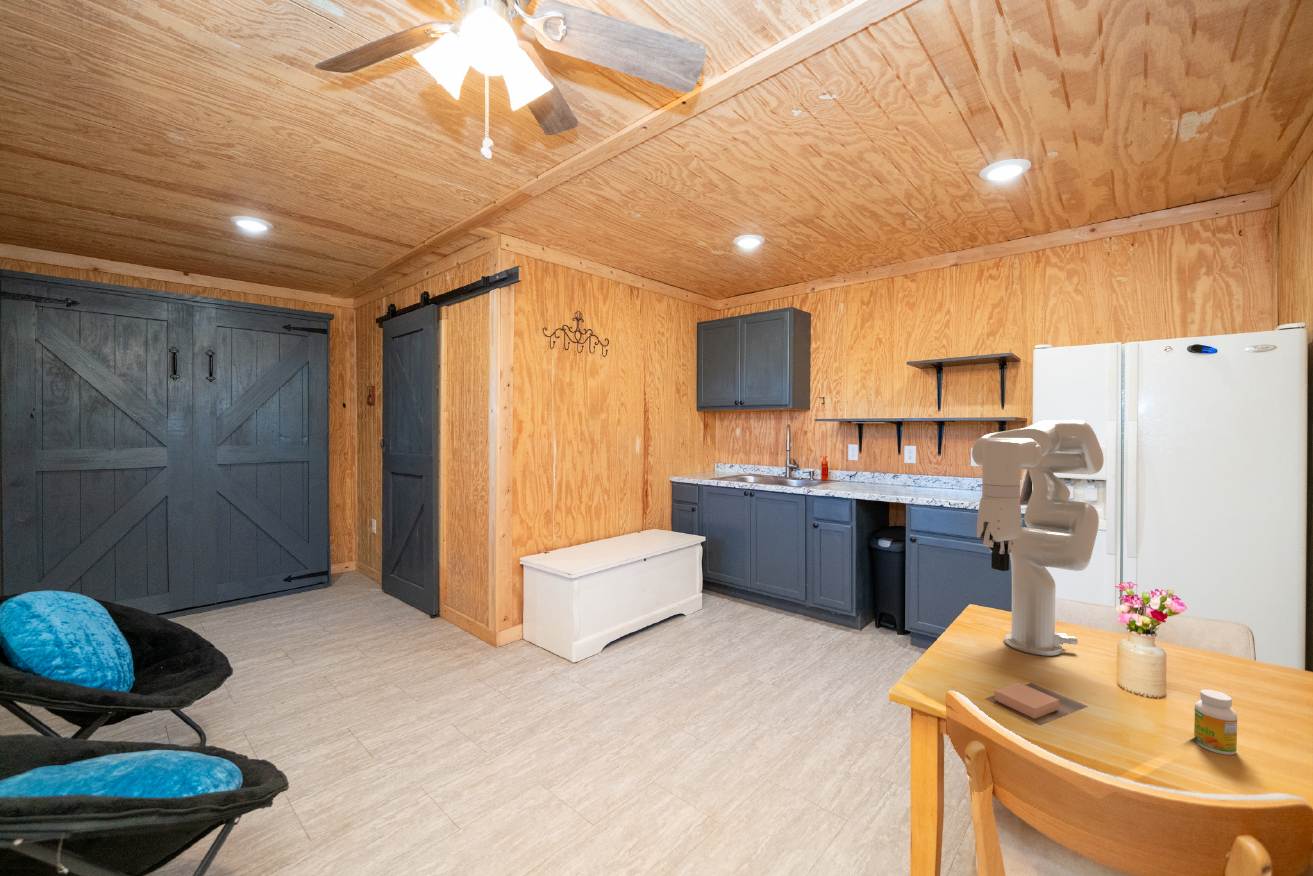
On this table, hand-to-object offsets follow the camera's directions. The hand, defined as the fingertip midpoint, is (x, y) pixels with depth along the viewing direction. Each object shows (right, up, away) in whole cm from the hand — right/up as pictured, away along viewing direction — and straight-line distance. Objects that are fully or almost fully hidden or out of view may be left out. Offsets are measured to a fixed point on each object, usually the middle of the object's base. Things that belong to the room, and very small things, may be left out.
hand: (1000, 569), depth 126 cm
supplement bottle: (+21, -26, -28) cm, 44 cm away
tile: (-1, -23, -14) cm, 27 cm away
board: (-2, -26, -14) cm, 29 cm away
